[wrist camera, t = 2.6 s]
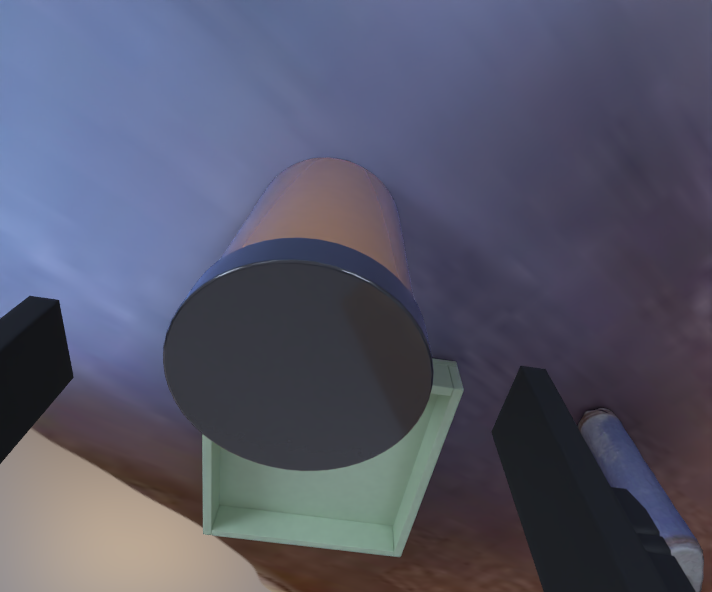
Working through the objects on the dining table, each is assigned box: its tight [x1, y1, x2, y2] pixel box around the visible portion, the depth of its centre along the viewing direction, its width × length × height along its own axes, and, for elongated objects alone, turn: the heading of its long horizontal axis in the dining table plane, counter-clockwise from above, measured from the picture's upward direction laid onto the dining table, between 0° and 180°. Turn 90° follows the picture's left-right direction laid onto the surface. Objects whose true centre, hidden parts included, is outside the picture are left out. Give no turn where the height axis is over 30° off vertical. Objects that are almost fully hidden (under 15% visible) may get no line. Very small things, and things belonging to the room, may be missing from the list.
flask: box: [578, 408, 704, 592], centre depth 26 cm, size 9×3×11 cm, turn 11°
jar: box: [163, 158, 434, 471], centre depth 18 cm, size 8×8×12 cm
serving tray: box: [202, 358, 464, 557], centre depth 29 cm, size 14×16×2 cm
